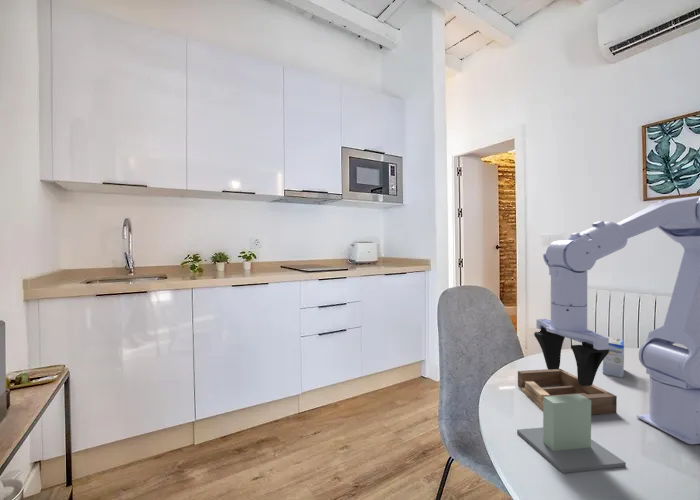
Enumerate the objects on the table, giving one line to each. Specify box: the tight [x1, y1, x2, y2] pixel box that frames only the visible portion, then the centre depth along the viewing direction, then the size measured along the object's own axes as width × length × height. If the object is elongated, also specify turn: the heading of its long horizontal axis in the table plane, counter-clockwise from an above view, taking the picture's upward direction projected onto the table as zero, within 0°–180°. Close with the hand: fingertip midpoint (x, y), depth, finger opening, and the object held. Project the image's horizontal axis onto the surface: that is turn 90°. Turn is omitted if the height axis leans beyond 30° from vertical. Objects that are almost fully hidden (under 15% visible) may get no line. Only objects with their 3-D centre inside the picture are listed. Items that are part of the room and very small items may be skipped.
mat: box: [516, 426, 627, 474], centre depth 57 cm, size 11×11×1 cm
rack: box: [517, 368, 618, 416], centre depth 76 cm, size 16×12×4 cm
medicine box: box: [602, 336, 625, 378], centre depth 91 cm, size 8×4×9 cm, turn 141°
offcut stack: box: [520, 381, 550, 411], centre depth 74 cm, size 11×2×3 cm, turn 178°
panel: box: [542, 393, 592, 451], centre depth 57 cm, size 2×7×8 cm, turn 98°
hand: (568, 376), depth 62 cm, fingers open, 7 cm apart
